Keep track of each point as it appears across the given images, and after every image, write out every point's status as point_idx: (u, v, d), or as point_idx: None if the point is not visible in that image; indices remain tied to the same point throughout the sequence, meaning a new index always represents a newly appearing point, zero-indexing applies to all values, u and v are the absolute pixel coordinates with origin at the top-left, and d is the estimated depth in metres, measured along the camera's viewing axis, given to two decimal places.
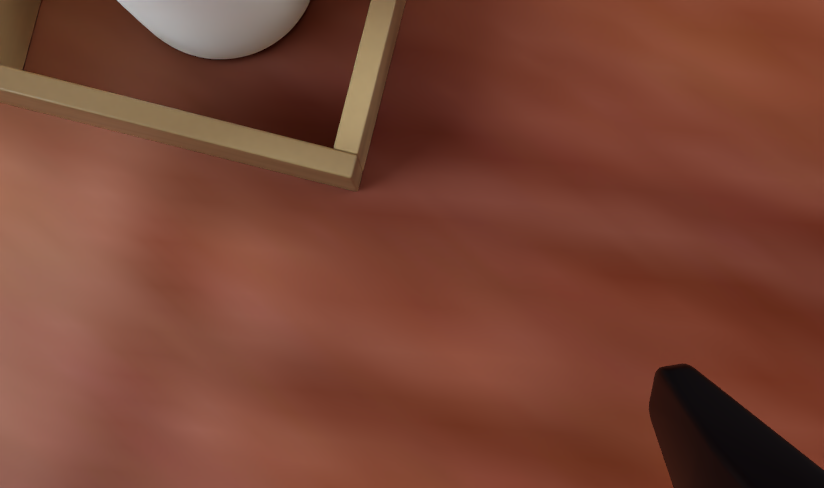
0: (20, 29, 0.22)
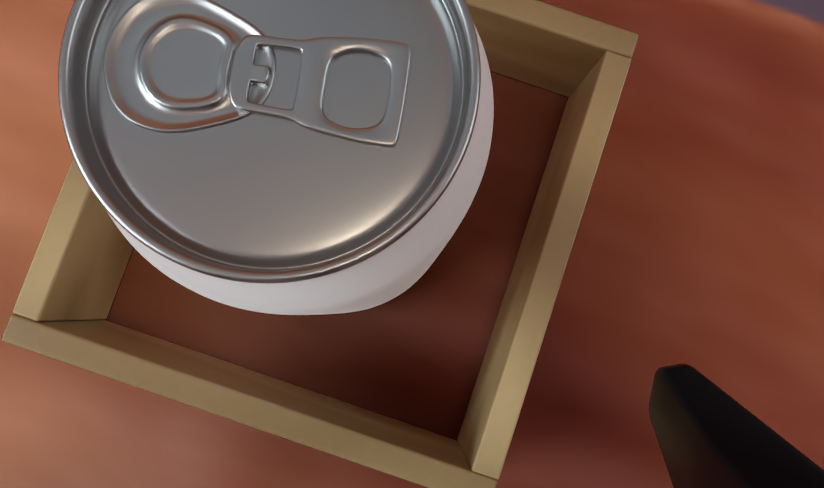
0: (117, 265, 0.20)
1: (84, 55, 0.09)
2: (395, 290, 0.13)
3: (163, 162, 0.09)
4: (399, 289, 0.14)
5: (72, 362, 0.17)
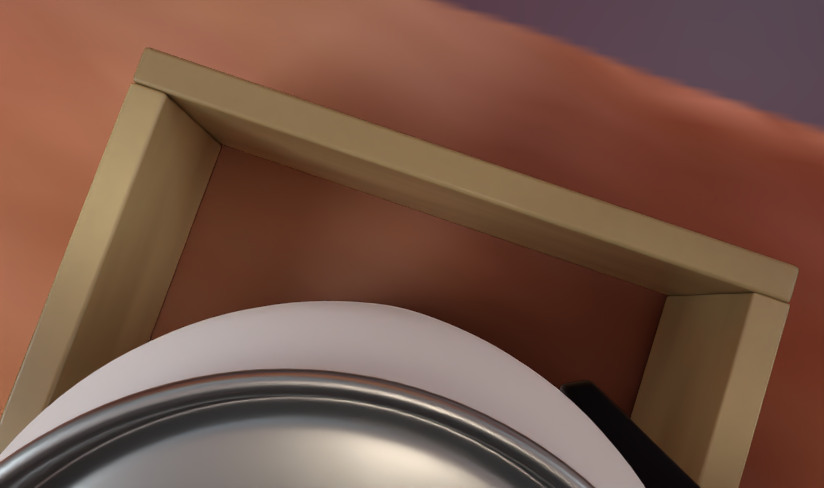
0: None
1: None
2: None
3: None
4: None
5: None
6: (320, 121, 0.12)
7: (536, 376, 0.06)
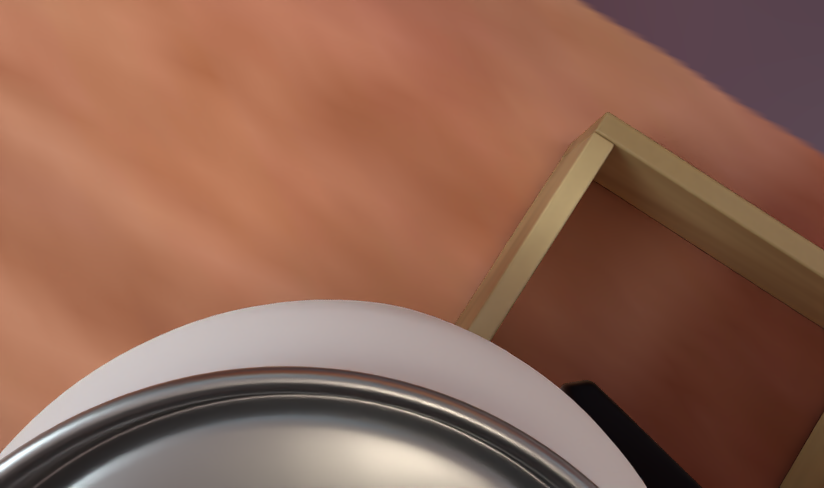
0: None
1: None
2: None
3: None
4: None
5: None
6: (706, 186, 0.19)
7: (537, 375, 0.06)
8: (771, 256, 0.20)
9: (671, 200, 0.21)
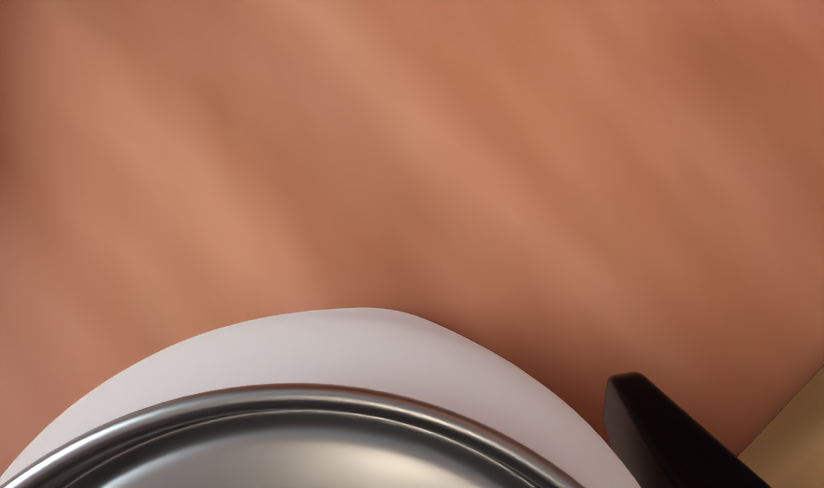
0: None
1: None
2: None
3: None
4: None
5: None
6: None
7: (541, 387, 0.06)
8: None
9: None
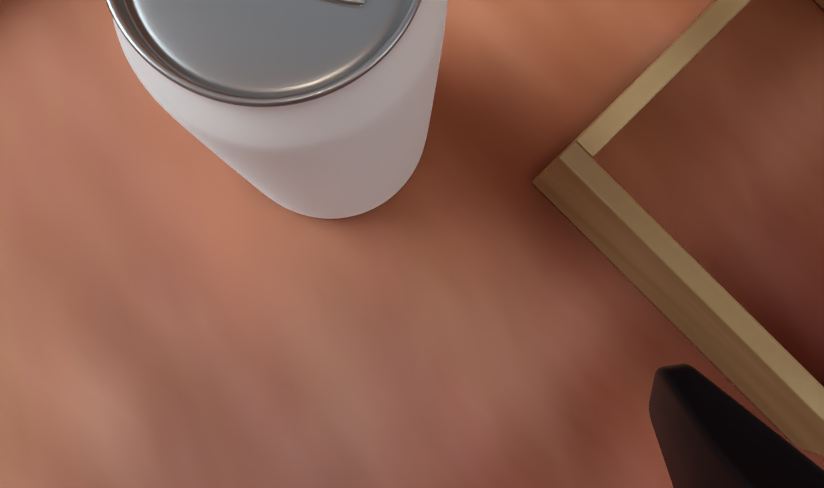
0: None
1: None
2: (371, 157, 0.15)
3: (180, 16, 0.12)
4: (375, 163, 0.16)
5: (606, 201, 0.19)
6: None
7: None
8: None
9: None
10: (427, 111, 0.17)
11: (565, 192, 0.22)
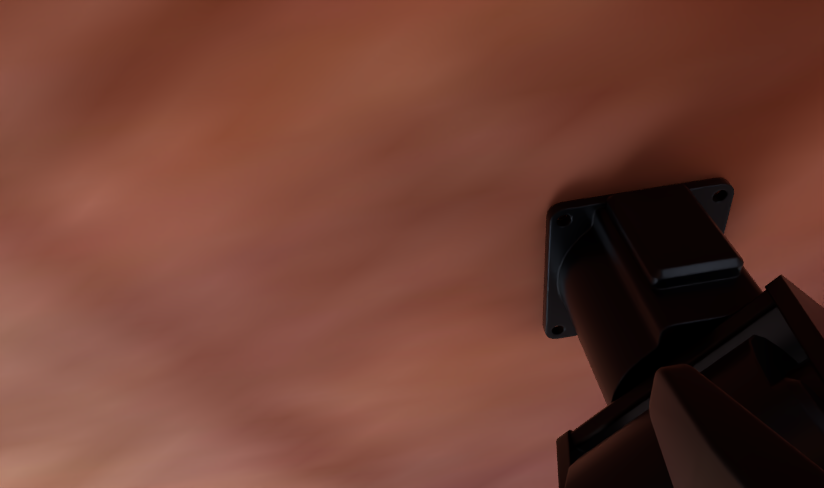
0: None
1: None
2: None
3: None
4: None
5: None
6: None
7: None
8: None
9: None
10: None
11: None
